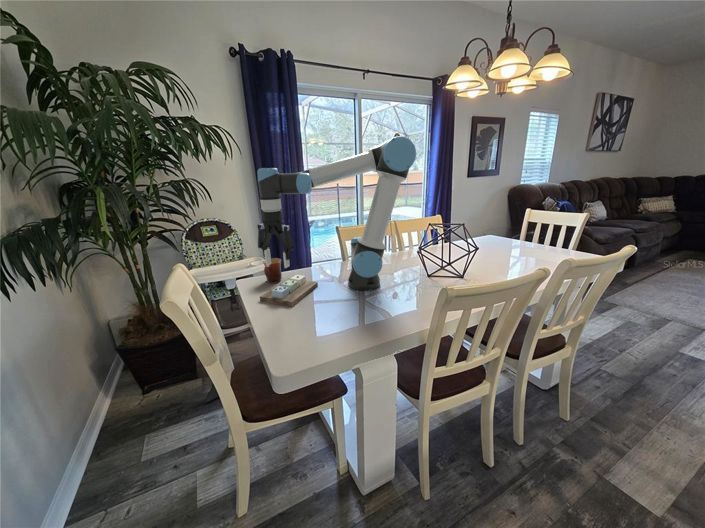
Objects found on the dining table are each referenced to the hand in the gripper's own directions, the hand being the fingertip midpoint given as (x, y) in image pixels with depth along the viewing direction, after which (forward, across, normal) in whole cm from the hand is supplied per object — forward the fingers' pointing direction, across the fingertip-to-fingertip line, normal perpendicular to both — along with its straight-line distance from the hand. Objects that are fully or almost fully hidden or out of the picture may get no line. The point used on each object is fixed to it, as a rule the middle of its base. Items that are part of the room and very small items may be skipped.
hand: (277, 265), depth 118 cm
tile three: (+14, 0, 0) cm, 14 cm away
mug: (+16, +16, -16) cm, 27 cm away
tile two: (+14, 0, -7) cm, 15 cm away
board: (+15, 0, -7) cm, 17 cm away
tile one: (+14, 0, -14) cm, 19 cm away
